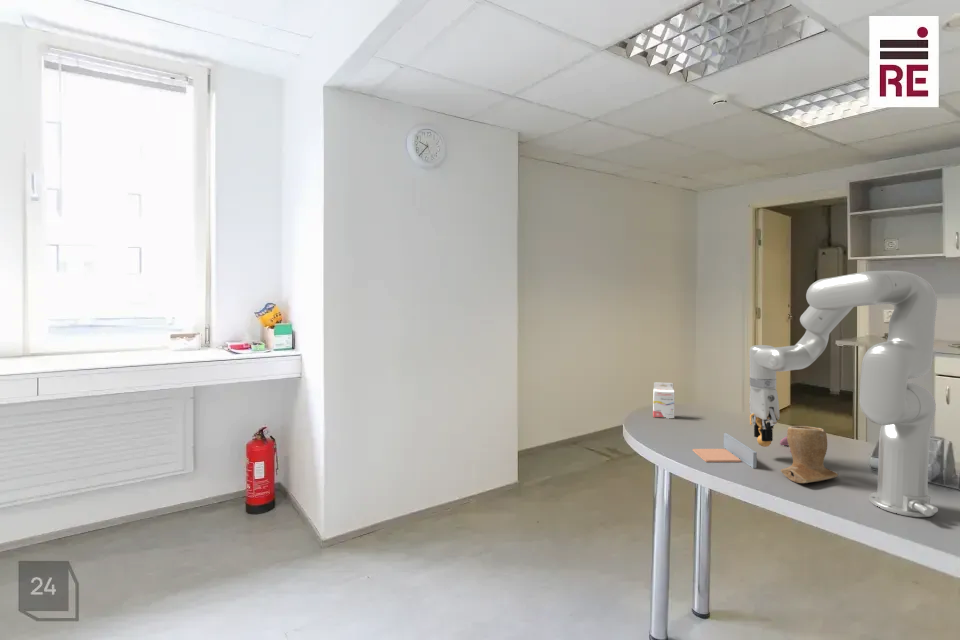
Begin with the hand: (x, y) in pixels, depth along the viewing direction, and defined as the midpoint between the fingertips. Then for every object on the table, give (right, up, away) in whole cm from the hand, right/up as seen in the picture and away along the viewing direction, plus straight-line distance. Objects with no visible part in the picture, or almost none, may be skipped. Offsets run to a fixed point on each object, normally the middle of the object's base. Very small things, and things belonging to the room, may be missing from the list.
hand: (763, 438), depth 158 cm
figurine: (0, -3, +1) cm, 3 cm away
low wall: (-7, -6, +1) cm, 10 cm away
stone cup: (+3, -8, -16) cm, 18 cm away
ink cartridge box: (-13, -3, +52) cm, 53 cm away
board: (-14, -7, +3) cm, 16 cm away
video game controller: (+15, -6, +8) cm, 18 cm away
